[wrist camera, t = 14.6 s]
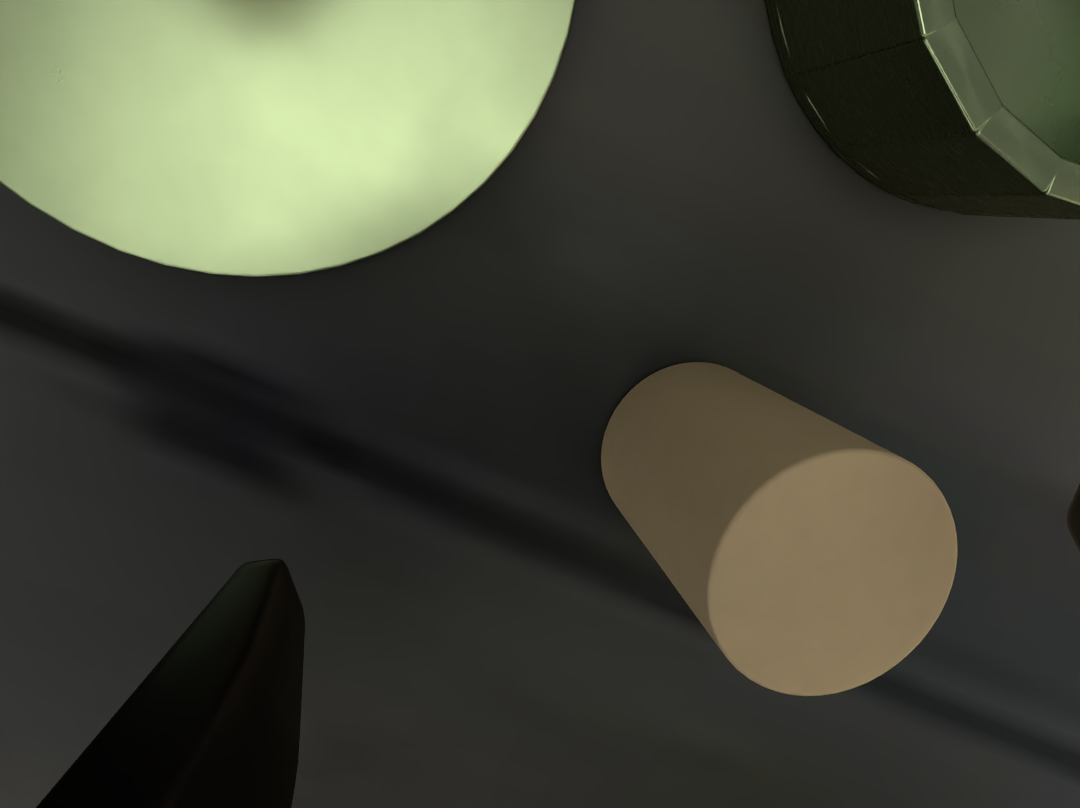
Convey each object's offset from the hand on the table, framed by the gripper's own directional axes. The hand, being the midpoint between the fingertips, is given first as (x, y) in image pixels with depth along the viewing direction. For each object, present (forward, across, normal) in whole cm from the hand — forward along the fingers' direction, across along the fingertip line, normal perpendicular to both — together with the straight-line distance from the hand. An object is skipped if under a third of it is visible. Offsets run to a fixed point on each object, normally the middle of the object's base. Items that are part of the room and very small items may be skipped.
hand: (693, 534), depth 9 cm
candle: (+9, -3, +6) cm, 11 cm away
